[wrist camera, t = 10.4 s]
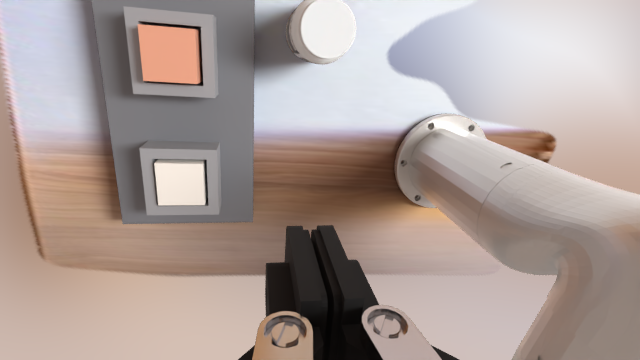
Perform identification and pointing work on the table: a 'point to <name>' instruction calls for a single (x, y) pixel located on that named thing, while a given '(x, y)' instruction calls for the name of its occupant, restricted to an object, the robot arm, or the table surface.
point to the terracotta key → (170, 54)
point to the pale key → (181, 181)
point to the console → (180, 107)
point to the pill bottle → (321, 30)
